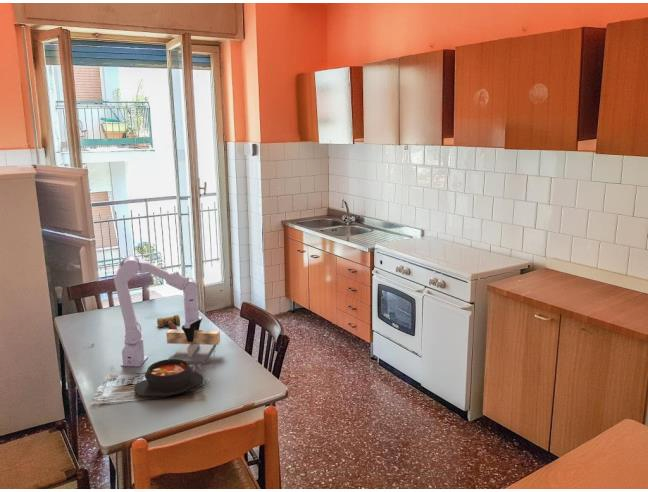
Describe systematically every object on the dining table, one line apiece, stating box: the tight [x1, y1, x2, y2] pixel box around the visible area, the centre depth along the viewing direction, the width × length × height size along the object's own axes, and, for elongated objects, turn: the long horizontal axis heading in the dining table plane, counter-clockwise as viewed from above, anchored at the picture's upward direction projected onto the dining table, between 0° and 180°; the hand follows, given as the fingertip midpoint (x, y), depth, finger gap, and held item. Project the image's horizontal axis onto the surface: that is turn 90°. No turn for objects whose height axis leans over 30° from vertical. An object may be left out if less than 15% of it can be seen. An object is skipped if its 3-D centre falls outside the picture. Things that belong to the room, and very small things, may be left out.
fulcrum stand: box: [170, 344, 216, 365], centre depth 231 cm, size 20×14×5 cm
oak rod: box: [166, 329, 221, 346], centre depth 230 cm, size 22×4×5 cm, turn 87°
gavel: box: [156, 314, 181, 330], centre depth 258 cm, size 21×5×10 cm
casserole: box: [133, 358, 204, 397], centre depth 201 cm, size 25×19×8 cm
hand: (193, 338), depth 230 cm, fingers open, 7 cm apart
